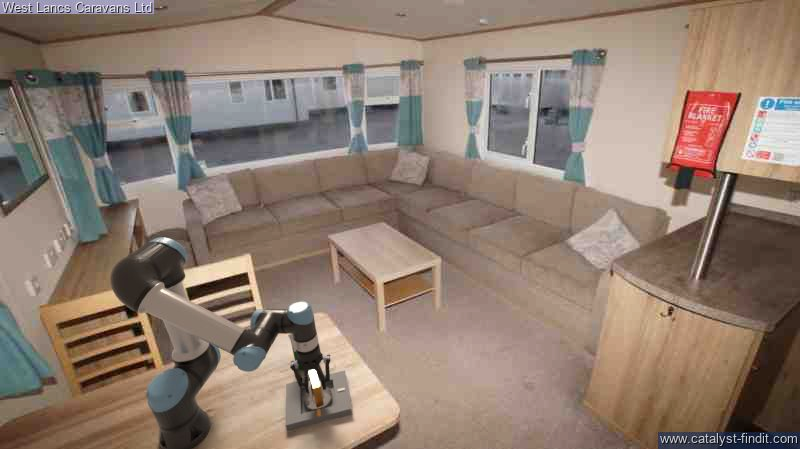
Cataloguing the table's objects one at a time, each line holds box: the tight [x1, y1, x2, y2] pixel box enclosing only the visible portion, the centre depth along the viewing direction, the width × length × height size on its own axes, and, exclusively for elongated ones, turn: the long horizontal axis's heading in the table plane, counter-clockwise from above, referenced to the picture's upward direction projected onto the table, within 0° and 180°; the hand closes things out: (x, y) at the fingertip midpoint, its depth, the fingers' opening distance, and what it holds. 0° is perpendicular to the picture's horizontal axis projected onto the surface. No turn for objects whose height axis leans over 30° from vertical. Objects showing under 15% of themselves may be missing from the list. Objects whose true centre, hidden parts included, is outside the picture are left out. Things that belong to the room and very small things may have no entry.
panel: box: [285, 370, 353, 431], centre depth 136 cm, size 22×18×3 cm
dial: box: [304, 369, 332, 411], centre depth 134 cm, size 10×10×10 cm
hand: (317, 396), depth 134 cm, fingers closed on dial, 3 cm apart
